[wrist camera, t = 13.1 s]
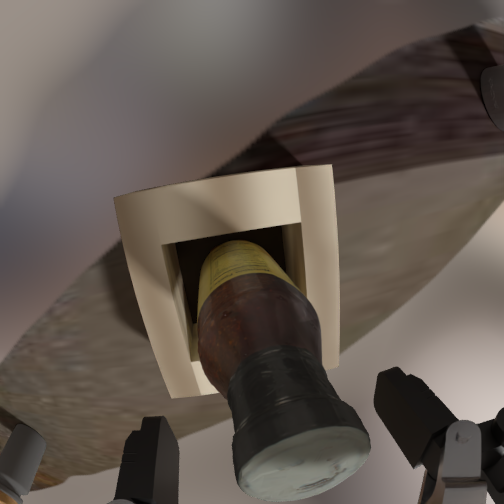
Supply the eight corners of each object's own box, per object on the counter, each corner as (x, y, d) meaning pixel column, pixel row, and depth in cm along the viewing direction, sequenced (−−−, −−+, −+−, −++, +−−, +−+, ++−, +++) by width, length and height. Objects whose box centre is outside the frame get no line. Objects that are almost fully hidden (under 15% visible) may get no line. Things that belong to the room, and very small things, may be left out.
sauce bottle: (264, 307, 27) (352, 506, 8) (195, 299, 26) (192, 522, 7) (279, 237, 25) (438, 394, 6) (205, 226, 24) (205, 412, 5)
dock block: (303, 165, 24) (331, 164, 18) (315, 332, 28) (338, 366, 23) (135, 191, 22) (113, 197, 17) (176, 357, 27) (171, 398, 21)
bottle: (48, 452, 29) (24, 520, 15) (18, 436, 28) (-10, 500, 13) (45, 434, 28) (16, 509, 14) (13, 417, 27) (-21, 486, 12)
